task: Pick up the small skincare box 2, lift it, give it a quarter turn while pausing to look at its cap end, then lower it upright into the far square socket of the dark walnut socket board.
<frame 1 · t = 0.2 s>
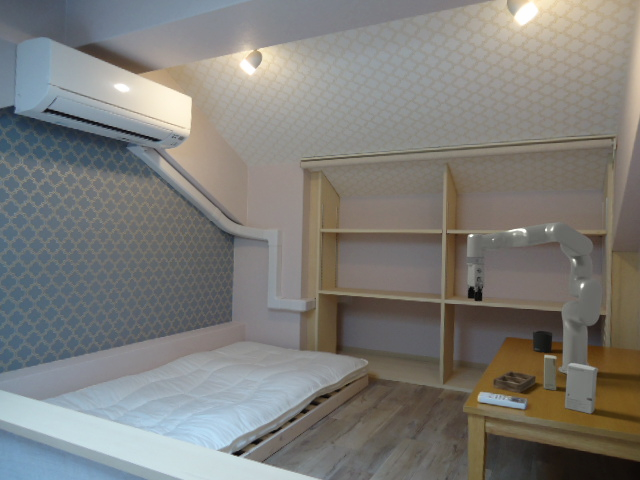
hand: (474, 299, 209), 31 cm above the table, tool pointing down, fingers open, 9 cm apart
pen holder: (542, 351, 251), on the table
skincare box 2: (549, 388, 184), on the table
socket board: (514, 385, 186), on the table
skincare box: (580, 409, 160), on the table
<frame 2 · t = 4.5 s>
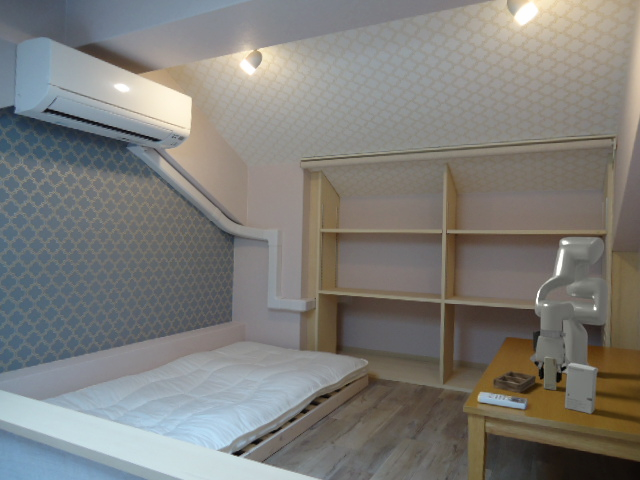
hand: (550, 380, 184), 3 cm above the table, tool pointing down, fingers closed on skincare box 2, 5 cm apart
skincare box 2: (549, 388, 184), on the table, touching gripper
everything else where it was.
when the fingers open (5 cm above the table, at t = 11.1 s): skincare box 2 stays where it is, resting on socket board.
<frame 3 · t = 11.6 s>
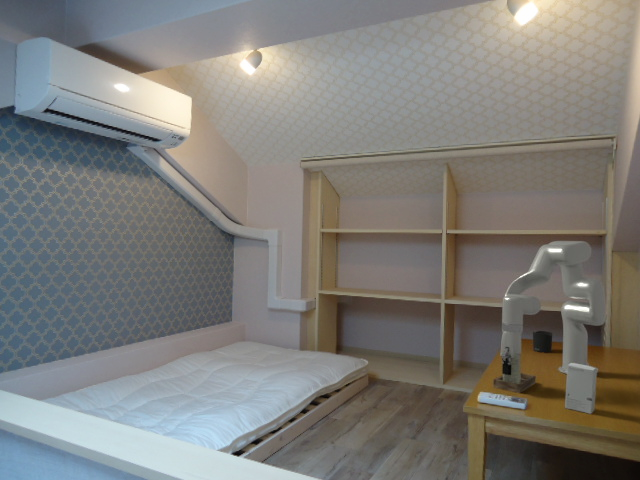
hand: (511, 372, 183), 6 cm above the table, tool pointing down, fingers open, 9 cm apart
skincare box 2: (511, 385, 183), point 1 cm above the table, touching socket board
everything else where it was.
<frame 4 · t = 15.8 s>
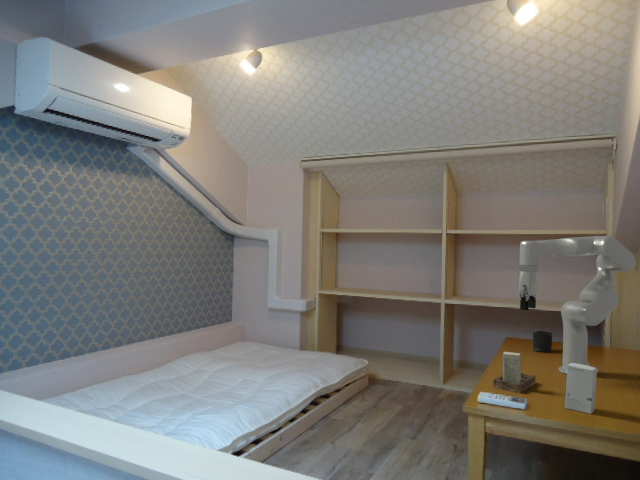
hand: (527, 308, 202), 28 cm above the table, tool pointing down, fingers open, 9 cm apart
nothing on the table moved.
at the end: skincare box 2 0.2 cm from the target spot on the socket board, point 0.9 cm above the socket board's base; skincare box 2 tilted 0°; the gripper is holding nothing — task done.
